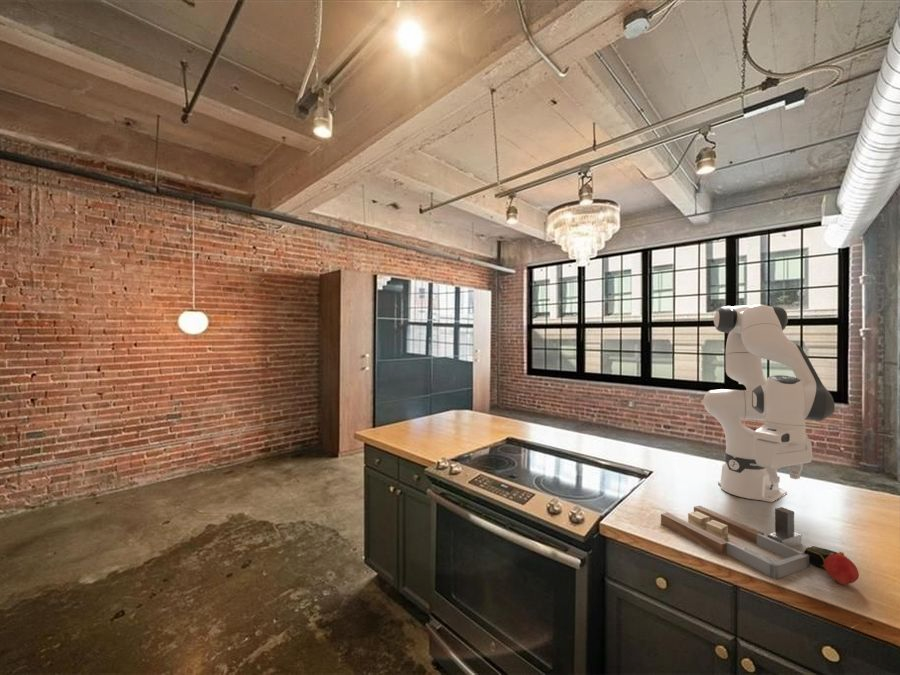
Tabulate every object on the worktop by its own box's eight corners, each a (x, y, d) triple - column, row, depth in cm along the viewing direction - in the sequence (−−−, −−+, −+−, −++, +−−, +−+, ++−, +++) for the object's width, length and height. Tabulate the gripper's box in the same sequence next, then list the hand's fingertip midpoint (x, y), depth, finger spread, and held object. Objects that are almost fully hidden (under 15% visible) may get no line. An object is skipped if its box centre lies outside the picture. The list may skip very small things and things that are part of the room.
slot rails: (700, 514, 125) (699, 505, 125) (763, 543, 107) (763, 533, 108) (660, 523, 119) (661, 513, 119) (721, 555, 101) (721, 544, 101)
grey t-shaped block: (786, 540, 109) (786, 505, 109) (801, 546, 106) (801, 510, 106) (767, 546, 106) (767, 509, 106) (782, 552, 103) (782, 515, 103)
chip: (712, 532, 114) (712, 519, 114) (727, 538, 110) (727, 525, 110) (706, 536, 111) (706, 522, 112) (721, 542, 108) (721, 528, 108)
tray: (759, 544, 107) (759, 533, 107) (809, 567, 96) (809, 555, 96) (726, 553, 102) (726, 542, 102) (775, 579, 91) (775, 566, 91)
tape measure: (850, 568, 94) (846, 552, 95) (833, 573, 92) (829, 557, 93) (817, 558, 101) (813, 543, 101) (800, 563, 98) (797, 548, 99)
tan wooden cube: (696, 523, 119) (696, 511, 119) (709, 529, 115) (709, 516, 115) (688, 525, 118) (688, 513, 118) (700, 531, 114) (700, 518, 114)
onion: (817, 577, 92) (817, 545, 92) (837, 576, 93) (837, 544, 93) (843, 593, 86) (843, 559, 86) (865, 591, 87) (865, 557, 87)
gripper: (793, 427, 113) (793, 472, 113) (749, 432, 106) (749, 480, 105) (819, 432, 107) (820, 480, 107) (775, 437, 100) (775, 488, 100)
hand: (784, 480), depth 106 cm, fingers open, 8 cm apart
